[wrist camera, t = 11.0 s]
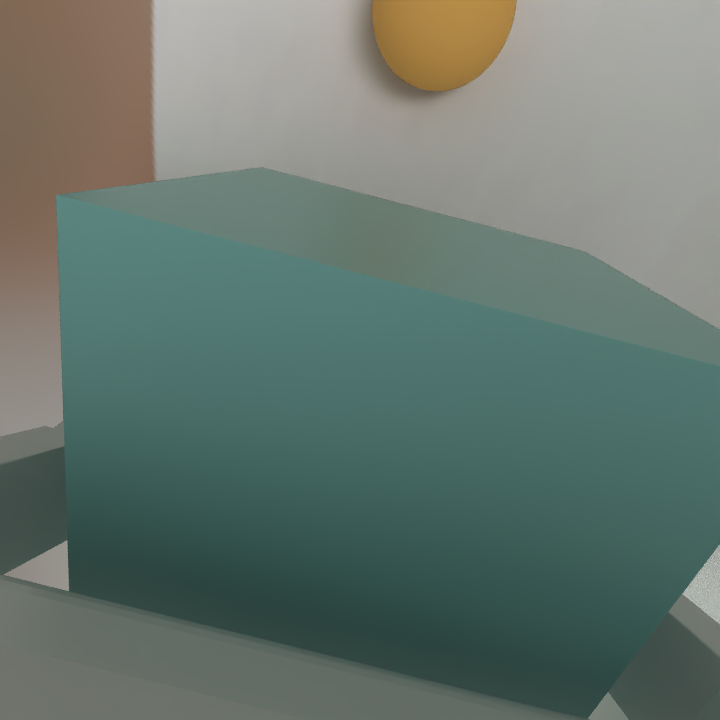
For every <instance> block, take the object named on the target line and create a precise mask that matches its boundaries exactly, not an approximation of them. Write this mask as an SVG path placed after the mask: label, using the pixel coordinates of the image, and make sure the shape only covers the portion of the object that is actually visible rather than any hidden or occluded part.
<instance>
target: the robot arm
mask: <svg viewBox="0 0 720 720" xmlns="http://www.w3.org/2000/svg"><path fill="white" fill-rule="evenodd" d="M66 540H68V538H67V508H66V478H65V448H64V421H62V422H61V423H60V424H58V425H57V426H56V427H54V428H51V427H47V426H44V427H39V428H35V429H31V430H27V431H23V432H18V433H14V434H10V435H6V436H2V437H0V720H588V719H584V718H580V717H576V716H572V715H568V714H564V713H560V712H556V711H552V710H548V709H544V708H540V707H536V706H532V705H528V704H524V703H520V702H516V701H511V700H507V699H503V698H499V697H495V696H491V695H487V694H483V693H479V692H475V691H471V690H467V689H463V688H459V687H455V686H451V685H447V684H443V683H439V682H435V681H431V680H427V679H423V678H418V677H414V676H410V675H406V674H402V673H398V672H394V671H390V670H386V669H382V668H378V667H374V666H370V665H366V664H362V663H358V662H354V661H350V660H346V659H342V658H338V657H334V656H330V655H326V654H322V653H318V652H313V651H309V650H305V649H301V648H297V647H293V646H289V645H285V644H281V643H277V642H273V641H269V640H265V639H261V638H257V637H253V636H249V635H245V634H240V633H236V632H232V631H228V630H224V629H220V628H216V627H212V626H208V625H204V624H200V623H196V622H191V621H187V620H183V619H179V618H175V617H171V616H167V615H163V614H159V613H155V612H151V611H146V610H142V609H138V608H134V607H130V606H126V605H122V604H118V603H114V602H110V601H106V600H102V599H97V598H93V597H89V596H85V595H81V594H77V593H73V592H69V591H65V590H61V589H57V588H53V587H49V586H45V585H41V584H37V583H33V582H29V581H25V580H21V579H17V578H13V577H9V576H5V575H3V574H5V573H7V572H9V571H11V570H12V569H14V568H16V567H18V566H20V565H22V564H23V563H25V562H27V561H29V560H31V559H33V558H35V557H37V556H38V555H40V554H42V553H44V552H46V551H48V550H49V549H51V548H53V547H55V546H57V545H59V544H61V543H62V542H64V541H66ZM608 692H609V694H610V695H611V696H612V698H613V699H614V700H615V701H616V703H617V704H618V706H619V707H620V708H621V710H622V711H623V712H624V714H625V715H626V716H627V717H628V719H629V720H720V624H718V623H717V622H716V621H715V620H713V619H712V618H711V617H710V616H709V615H707V614H706V613H705V612H704V611H702V610H701V609H700V608H699V607H697V606H696V605H695V604H694V603H693V602H691V601H690V600H689V599H688V598H686V597H685V596H684V595H683V594H681V596H680V597H679V598H678V600H677V601H676V602H675V604H674V605H673V606H672V608H671V609H670V610H669V612H668V613H667V614H666V616H665V617H664V618H663V620H662V621H661V622H660V624H659V625H658V626H657V627H656V629H655V630H654V631H653V633H652V634H651V635H650V637H649V638H648V639H647V641H646V642H645V643H644V645H643V646H642V647H641V649H640V650H639V651H638V653H637V654H636V655H635V657H634V658H633V659H632V660H631V662H630V663H629V664H628V666H627V667H626V668H625V670H624V671H623V672H622V674H621V675H620V676H619V678H618V679H617V680H616V682H615V683H614V684H613V686H612V687H611V688H610V690H609V691H608Z"/></svg>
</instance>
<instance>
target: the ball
mask: <svg viewBox="0 0 720 720" xmlns="http://www.w3.org/2000/svg"><path fill="white" fill-rule="evenodd" d="M515 8H516V0H373V3H372V20H373V29H374V33H375V37H376V41H377V44H378V47H379V50H380V52H381V54H382V56H383V58H384V59H385V61H386V63H387V64H388V65H389V67H390V68H391V70H392V71H393V72H394V73H395V74H396V75H397V76H398V77H400V78H401V79H402V80H403V81H405V82H407V83H408V84H410V85H412V86H414V87H417V88H420V89H423V90H428V91H447V90H452V89H455V88H458V87H461V86H463V85H465V84H467V83H469V82H470V81H472V80H474V79H475V78H477V77H478V76H479V75H480V74H482V73H483V72H484V71H485V70H486V69H487V68H488V67H489V66H490V65H491V64H492V62H493V61H494V60H495V58H496V57H497V56H498V54H499V53H500V51H501V49H502V48H503V46H504V44H505V42H506V40H507V37H508V35H509V32H510V30H511V27H512V23H513V20H514V15H515Z"/></svg>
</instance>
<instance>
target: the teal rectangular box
mask: <svg viewBox="0 0 720 720" xmlns="http://www.w3.org/2000/svg"><path fill="white" fill-rule="evenodd" d="M56 208H57V237H58V238H57V239H58V268H59V299H60V327H61V328H60V329H61V359H62V388H63V418H64V448H65V478H66V508H67V538H68V568H69V592H73V593H77V594H81V595H85V596H89V597H93V598H97V599H102V600H106V601H110V602H114V603H118V604H122V605H126V606H130V607H134V608H138V609H142V610H146V611H151V612H155V613H159V614H163V615H167V616H171V617H175V618H179V619H183V620H187V621H191V622H196V623H200V624H204V625H208V626H212V627H216V628H220V629H224V630H228V631H232V632H236V633H240V634H245V635H249V636H253V637H257V638H261V639H265V640H269V641H273V642H277V643H281V644H285V645H289V646H293V647H297V648H301V649H305V650H309V651H313V652H318V653H322V654H326V655H330V656H334V657H338V658H342V659H346V660H350V661H354V662H358V663H362V664H366V665H370V666H374V667H378V668H382V669H386V670H390V671H394V672H398V673H402V674H406V675H410V676H414V677H418V678H423V679H427V680H431V681H435V682H439V683H443V684H447V685H451V686H455V687H459V688H463V689H467V690H471V691H475V692H479V693H483V694H487V695H491V696H495V697H499V698H503V699H507V700H511V701H516V702H520V703H524V704H528V705H532V706H536V707H540V708H544V709H548V710H552V711H556V712H560V713H564V714H568V715H572V716H576V717H580V718H584V719H588V717H589V716H590V715H591V713H592V712H593V711H594V709H595V708H596V707H597V705H598V704H599V703H600V701H601V700H602V699H603V697H604V696H605V695H606V694H607V692H608V691H609V690H610V688H611V687H612V686H613V684H614V683H615V682H616V680H617V679H618V678H619V676H620V675H621V674H622V672H623V671H624V670H625V668H626V667H627V666H628V664H629V663H630V662H631V660H632V659H633V658H634V657H635V655H636V654H637V653H638V651H639V650H640V649H641V647H642V646H643V645H644V643H645V642H646V641H647V639H648V638H649V637H650V635H651V634H652V633H653V631H654V630H655V629H656V627H657V626H658V625H659V624H660V622H661V621H662V620H663V618H664V617H665V616H666V614H667V613H668V612H669V610H670V609H671V608H672V606H673V605H674V604H675V602H676V601H677V600H678V598H679V597H680V596H681V594H682V593H683V592H684V591H685V589H686V588H687V587H688V585H689V584H690V583H691V581H692V580H693V579H694V577H695V576H696V575H697V573H698V572H699V571H700V569H701V568H702V567H703V565H704V564H705V563H706V561H707V560H708V559H709V557H710V556H711V555H712V554H713V552H714V551H715V550H716V548H717V547H718V546H719V544H720V330H719V329H717V328H716V327H714V326H712V325H710V324H709V323H707V322H705V321H704V320H702V319H700V318H698V317H697V316H695V315H693V314H692V313H690V312H688V311H686V310H685V309H683V308H681V307H680V306H678V305H676V304H674V303H673V302H671V301H669V300H668V299H666V298H664V297H662V296H661V295H659V294H657V293H655V292H654V291H652V290H650V289H649V288H647V287H645V286H643V285H642V284H640V283H638V282H637V281H635V280H633V279H631V278H630V277H628V276H626V275H625V274H623V273H621V272H619V271H618V270H616V269H614V268H613V267H611V266H609V265H607V264H606V263H604V262H602V261H601V260H599V259H597V258H595V257H594V256H592V255H590V254H588V253H587V252H584V251H581V250H577V249H573V248H569V247H565V246H561V245H558V244H554V243H550V242H546V241H542V240H538V239H535V238H531V237H527V236H523V235H519V234H515V233H512V232H508V231H504V230H500V229H496V228H492V227H489V226H485V225H481V224H477V223H473V222H469V221H466V220H462V219H458V218H454V217H450V216H446V215H443V214H439V213H435V212H431V211H427V210H423V209H420V208H416V207H412V206H408V205H404V204H400V203H397V202H393V201H389V200H385V199H381V198H377V197H374V196H370V195H366V194H362V193H358V192H354V191H351V190H347V189H343V188H339V187H335V186H331V185H327V184H324V183H320V182H316V181H312V180H308V179H304V178H301V177H297V176H293V175H289V174H285V173H281V172H278V171H274V170H270V169H266V168H262V167H261V168H254V169H246V170H239V171H231V172H224V173H216V174H209V175H201V176H194V177H186V178H179V179H171V180H164V181H156V182H149V183H141V184H134V185H126V186H119V187H111V188H104V189H96V190H89V191H81V192H75V193H67V194H59V195H56Z"/></svg>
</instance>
